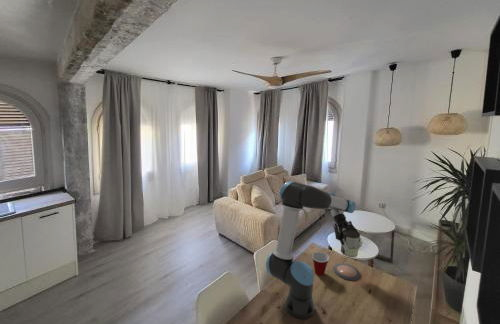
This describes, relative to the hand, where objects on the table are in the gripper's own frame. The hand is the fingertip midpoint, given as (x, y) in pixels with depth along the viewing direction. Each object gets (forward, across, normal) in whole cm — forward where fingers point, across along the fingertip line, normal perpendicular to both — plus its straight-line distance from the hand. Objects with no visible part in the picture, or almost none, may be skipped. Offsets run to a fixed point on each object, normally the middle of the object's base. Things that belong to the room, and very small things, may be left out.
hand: (353, 248), depth 148 cm
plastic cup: (+8, +18, -20) cm, 28 cm away
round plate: (+11, 0, -16) cm, 19 cm away
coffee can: (+2, 0, -6) cm, 6 cm away
